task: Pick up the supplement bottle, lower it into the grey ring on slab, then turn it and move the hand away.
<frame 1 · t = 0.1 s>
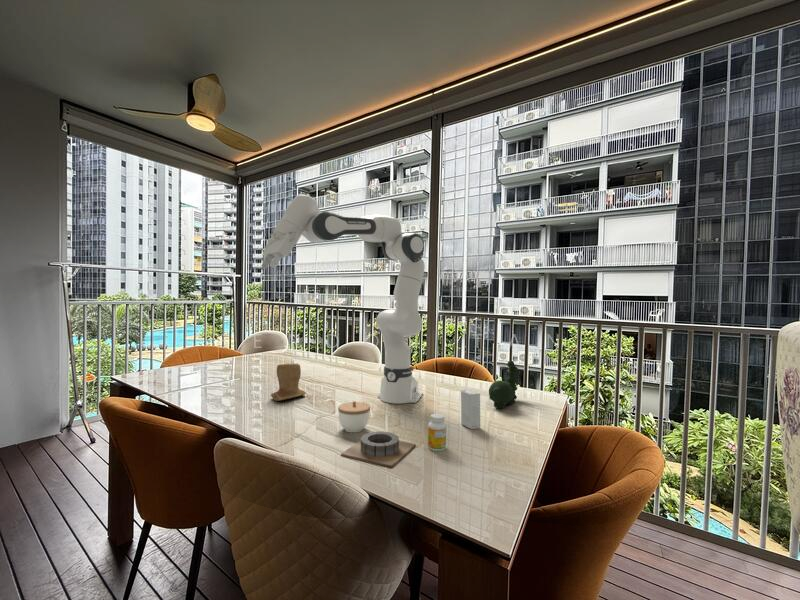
hand: (267, 267, 129), 54 cm above the table, tool tilted 30°, fingers open, 8 cm apart
lidded jar: (353, 429, 126), on the table
grey ring on slab: (379, 450, 109), on the table
skincare box: (470, 426, 131), on the table
toy figurine: (504, 405, 157), on the table
supplement bottle: (436, 448, 112), on the table
brown flared stand: (286, 398, 162), on the table
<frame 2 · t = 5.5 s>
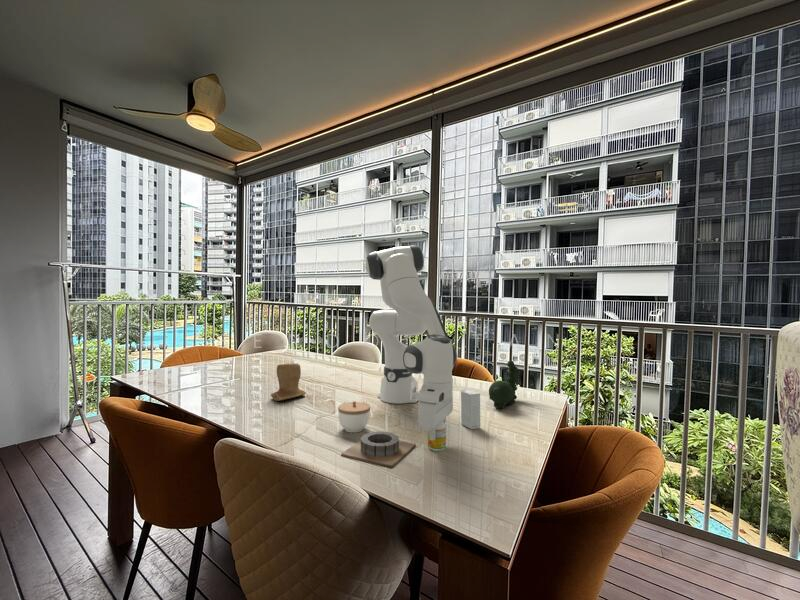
hand: (436, 435, 112), 4 cm above the table, tool pointing down, fingers closed on supplement bottle, 5 cm apart
supplement bottle: (436, 448, 112), on the table, touching gripper
everything else where it was.
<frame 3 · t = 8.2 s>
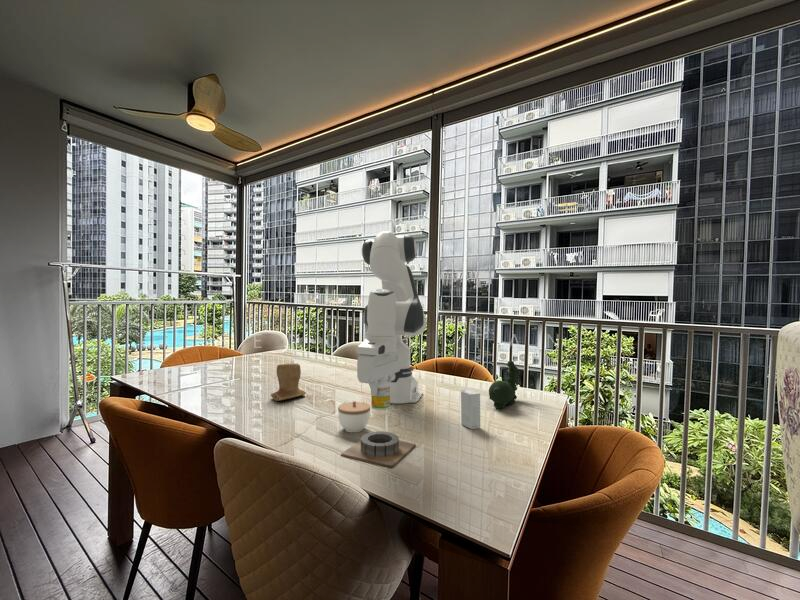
hand: (380, 392, 109), 17 cm above the table, tool pointing down, fingers closed on supplement bottle, 5 cm apart
supplement bottle: (380, 408, 109), point 12 cm above the table, touching gripper
everything else where it was.
when the fingers open (6 cm above the table, at t = 10.2 s): supplement bottle stays where it is, resting on grey ring on slab.
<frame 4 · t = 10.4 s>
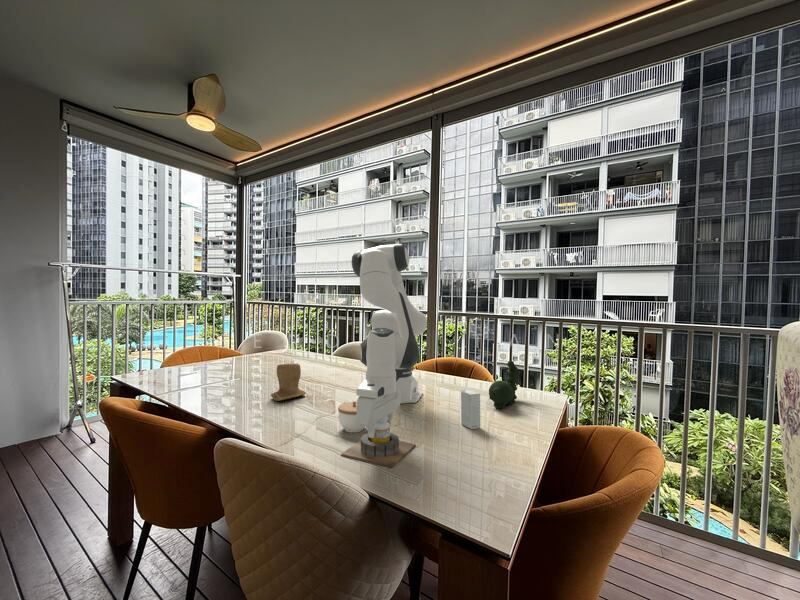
hand: (380, 431, 109), 6 cm above the table, tool pointing down, fingers open, 8 cm apart
supplement bottle: (380, 449, 109), resting on grey ring on slab
everything else where it was.
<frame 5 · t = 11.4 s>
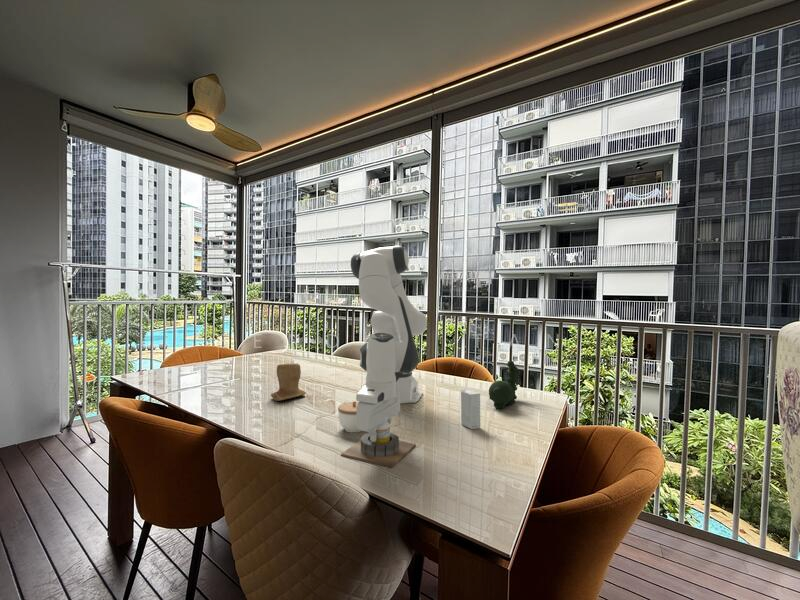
hand: (379, 436, 109), 4 cm above the table, tool pointing down, fingers closed on supplement bottle, 5 cm apart
supplement bottle: (380, 449, 109), resting on grey ring on slab, touching gripper
everything else where it was.
when the fingers open (4 cm above the table, at t = 13.0 s): supplement bottle stays where it is, resting on grey ring on slab.
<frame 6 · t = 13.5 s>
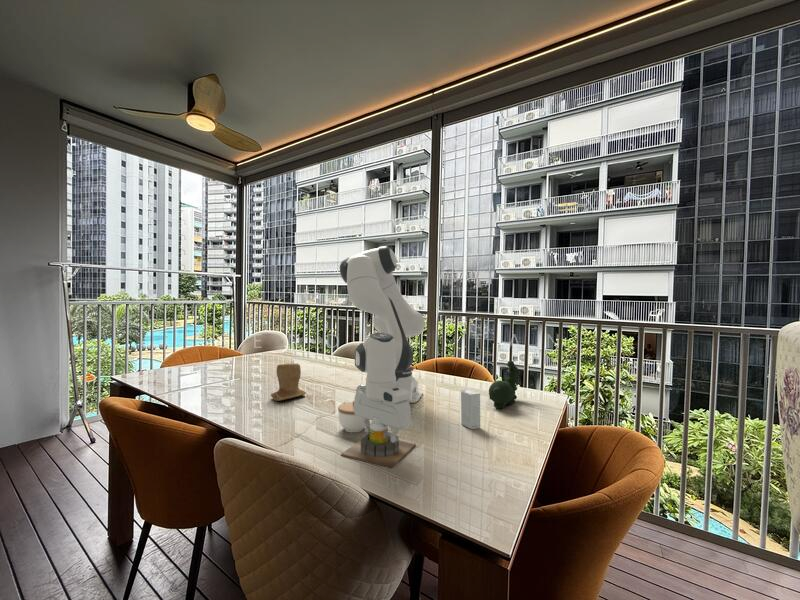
hand: (380, 436, 109), 4 cm above the table, tool pointing down, fingers open, 8 cm apart
supplement bottle: (378, 450, 108), resting on grey ring on slab
everything else where it was.
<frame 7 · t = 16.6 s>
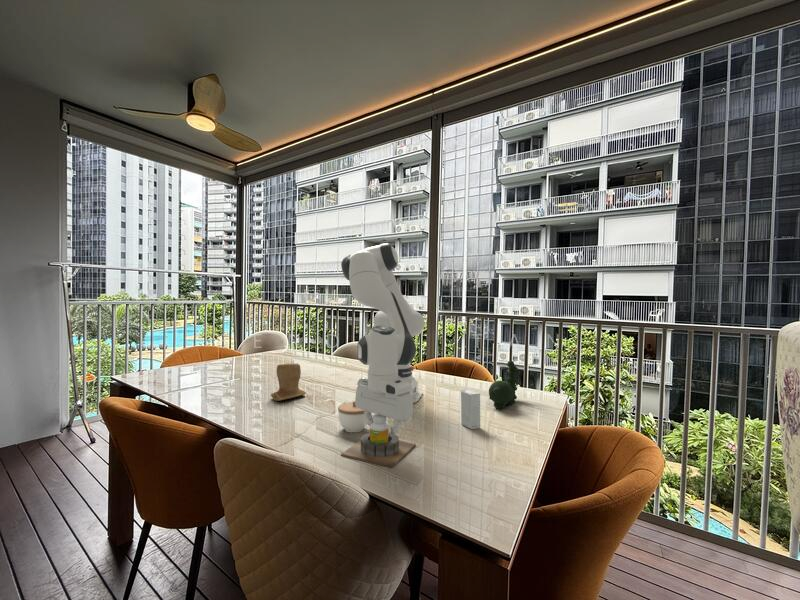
hand: (382, 429, 109), 6 cm above the table, tool pointing down, fingers open, 8 cm apart
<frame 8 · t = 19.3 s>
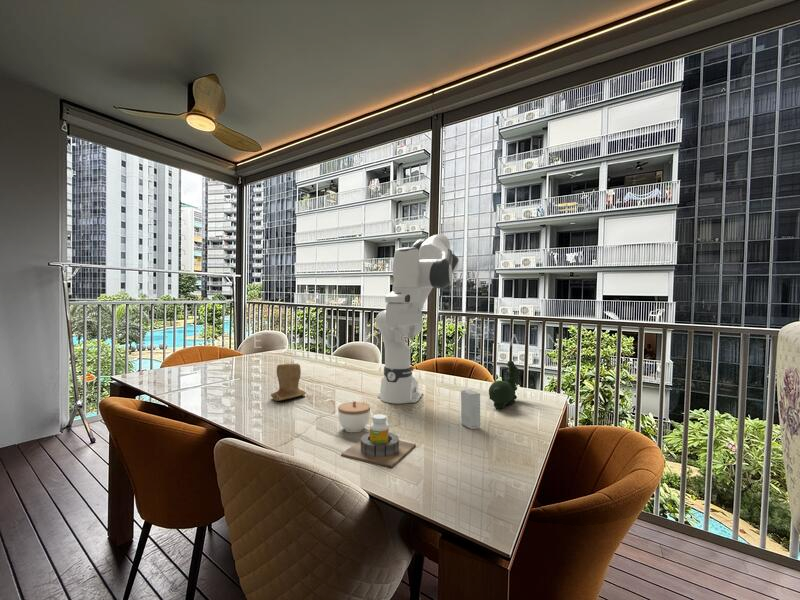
hand: (404, 339, 121), 31 cm above the table, tool pointing down, fingers open, 8 cm apart
at the end: supplement bottle 0.8 cm off-centre on the grey ring on slab, point 0.4 cm above the grey ring on slab's base; supplement bottle tilted 0°; the gripper is holding nothing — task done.
